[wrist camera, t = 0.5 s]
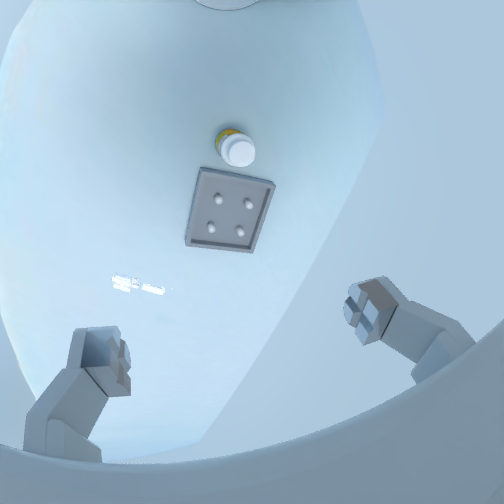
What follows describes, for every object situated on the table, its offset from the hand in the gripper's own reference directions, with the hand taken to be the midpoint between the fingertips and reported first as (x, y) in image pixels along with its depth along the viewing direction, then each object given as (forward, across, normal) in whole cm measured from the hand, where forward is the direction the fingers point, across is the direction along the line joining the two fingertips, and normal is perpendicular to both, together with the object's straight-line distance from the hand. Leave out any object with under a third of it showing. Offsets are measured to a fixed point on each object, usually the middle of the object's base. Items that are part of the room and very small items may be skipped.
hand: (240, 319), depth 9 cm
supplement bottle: (+42, -8, +2) cm, 43 cm away
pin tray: (+42, -7, +16) cm, 45 cm away
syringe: (+42, +11, +32) cm, 54 cm away
